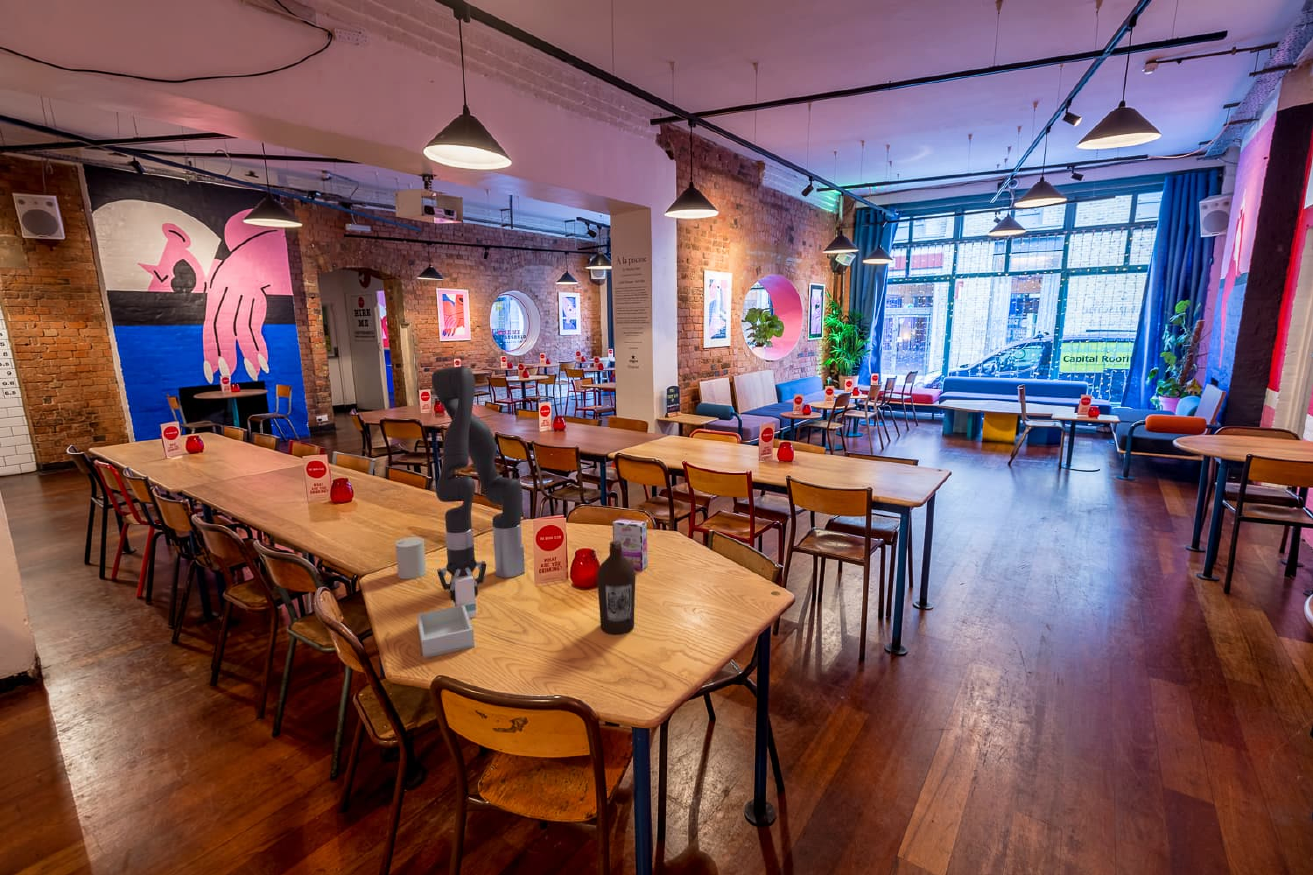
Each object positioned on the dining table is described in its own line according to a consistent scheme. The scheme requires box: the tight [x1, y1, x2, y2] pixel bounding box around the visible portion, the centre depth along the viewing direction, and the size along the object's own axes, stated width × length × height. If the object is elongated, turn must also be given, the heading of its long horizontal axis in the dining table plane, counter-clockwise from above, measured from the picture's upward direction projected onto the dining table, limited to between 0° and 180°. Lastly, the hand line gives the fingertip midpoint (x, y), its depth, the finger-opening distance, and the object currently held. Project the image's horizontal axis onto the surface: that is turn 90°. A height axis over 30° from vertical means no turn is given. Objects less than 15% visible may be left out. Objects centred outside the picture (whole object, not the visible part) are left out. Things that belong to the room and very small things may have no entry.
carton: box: [453, 575, 477, 619], centre depth 176 cm, size 5×8×12 cm, turn 26°
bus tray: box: [416, 605, 475, 660], centre depth 162 cm, size 13×16×5 cm
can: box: [394, 536, 428, 580], centre depth 203 cm, size 9×9×12 cm
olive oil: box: [596, 540, 637, 636], centre depth 165 cm, size 11×11×25 cm
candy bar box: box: [612, 518, 649, 572], centre depth 207 cm, size 11×5×16 cm, turn 68°
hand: (464, 598), depth 176 cm, fingers closed on carton, 5 cm apart
